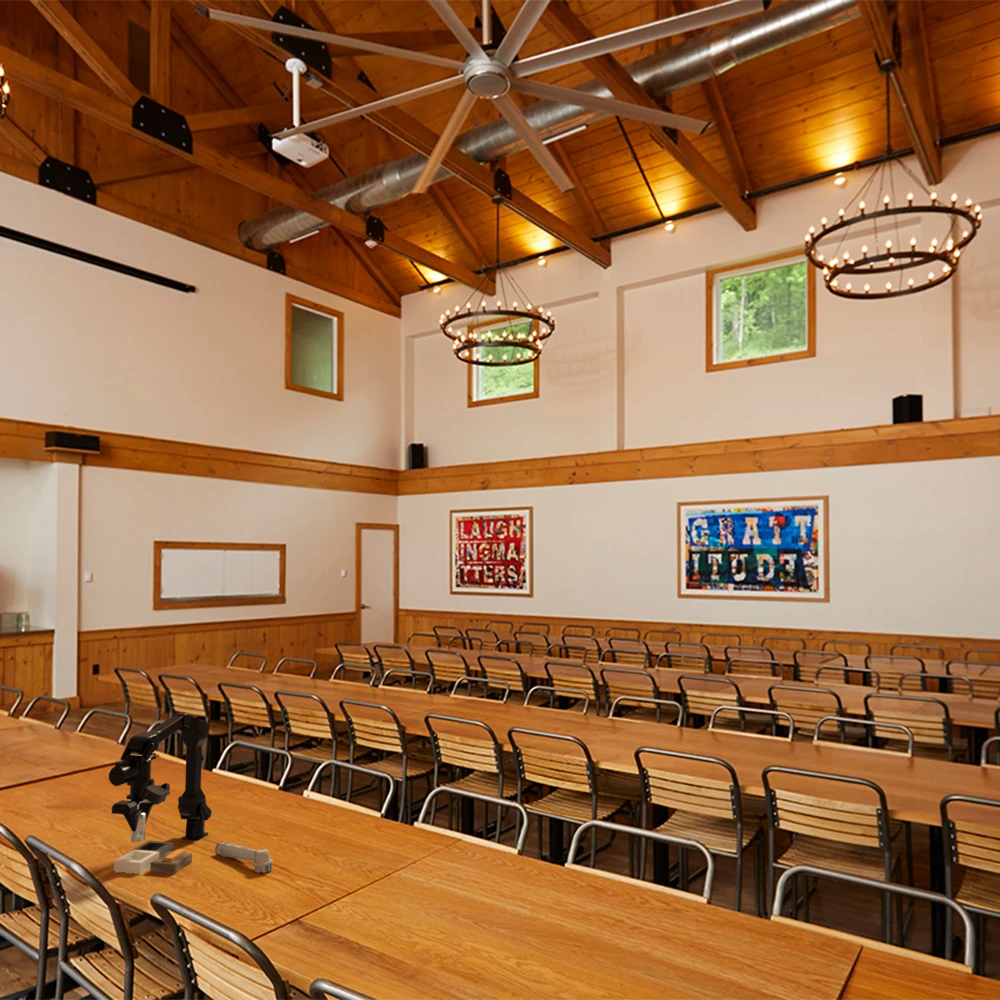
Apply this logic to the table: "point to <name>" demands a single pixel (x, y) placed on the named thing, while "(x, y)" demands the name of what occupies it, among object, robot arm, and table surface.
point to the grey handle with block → (246, 855)
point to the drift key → (174, 855)
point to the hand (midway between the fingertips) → (138, 828)
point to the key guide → (170, 864)
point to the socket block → (156, 847)
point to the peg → (139, 828)
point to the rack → (135, 861)
